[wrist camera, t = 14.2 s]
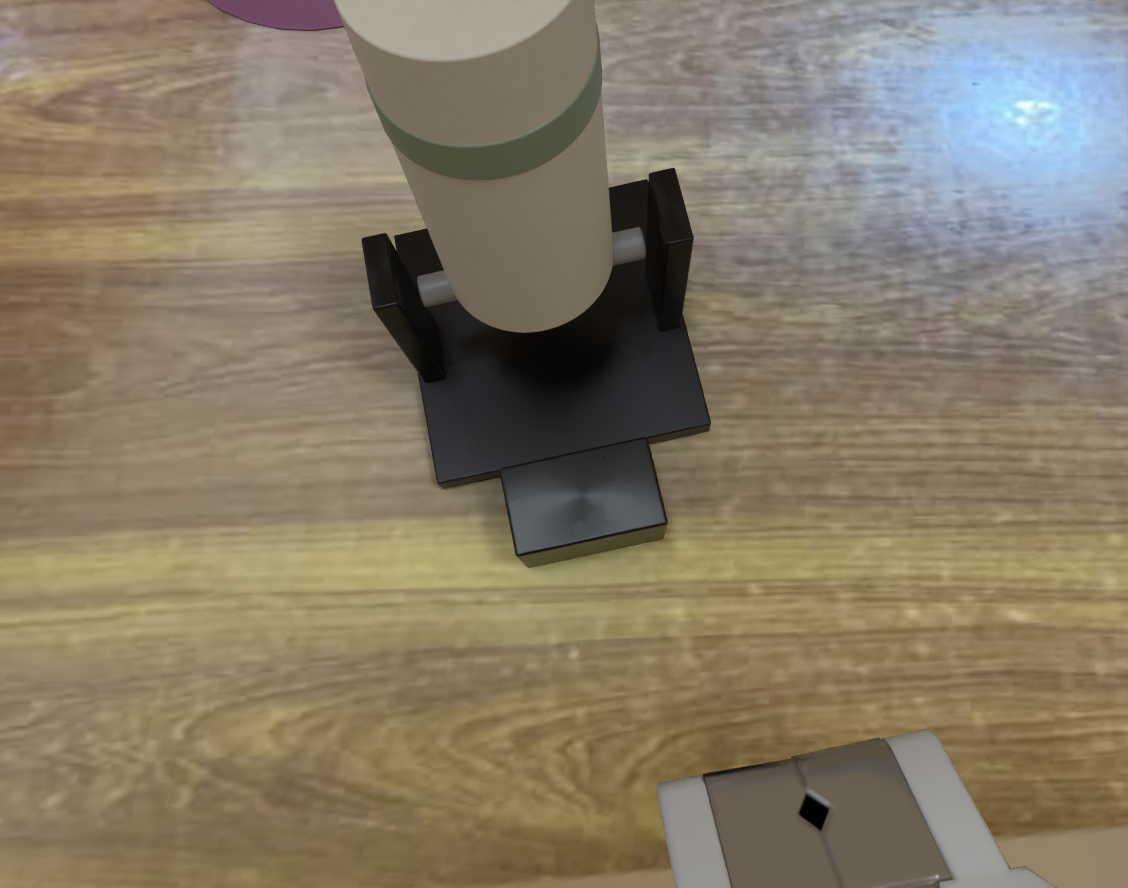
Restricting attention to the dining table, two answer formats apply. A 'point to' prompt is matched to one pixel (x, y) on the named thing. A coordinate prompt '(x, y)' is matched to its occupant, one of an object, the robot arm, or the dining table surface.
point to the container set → (285, 13)
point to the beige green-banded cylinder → (499, 149)
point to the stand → (559, 385)
